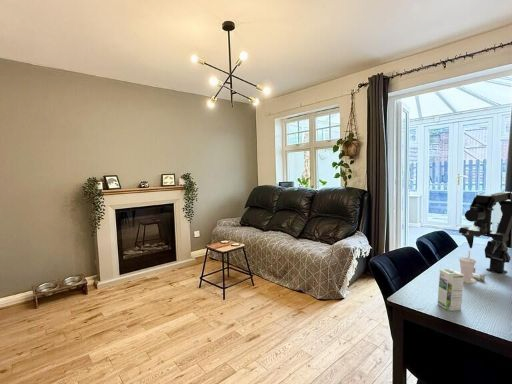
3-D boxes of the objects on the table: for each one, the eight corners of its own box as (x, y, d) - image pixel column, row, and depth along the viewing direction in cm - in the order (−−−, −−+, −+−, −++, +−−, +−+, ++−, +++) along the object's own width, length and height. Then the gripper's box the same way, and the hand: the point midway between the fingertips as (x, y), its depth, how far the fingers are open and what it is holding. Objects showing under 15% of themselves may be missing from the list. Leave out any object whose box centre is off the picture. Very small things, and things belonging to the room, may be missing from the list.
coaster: (462, 275, 138) (462, 274, 138) (480, 281, 131) (480, 280, 131) (452, 278, 135) (452, 277, 135) (470, 284, 128) (470, 283, 128)
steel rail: (471, 272, 141) (472, 267, 141) (492, 279, 133) (492, 273, 133) (463, 275, 138) (463, 269, 138) (483, 281, 130) (483, 275, 130)
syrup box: (436, 303, 110) (438, 269, 109) (450, 303, 111) (452, 268, 109) (447, 311, 105) (450, 274, 103) (462, 310, 105) (464, 274, 104)
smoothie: (477, 282, 129) (479, 253, 128) (462, 281, 130) (463, 252, 129) (470, 276, 135) (471, 249, 134) (455, 275, 137) (457, 248, 135)
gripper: (453, 217, 140) (451, 247, 141) (496, 225, 123) (494, 258, 124) (466, 216, 144) (464, 245, 146) (510, 222, 127) (507, 255, 129)
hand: (481, 250), depth 136 cm, fingers open, 9 cm apart
